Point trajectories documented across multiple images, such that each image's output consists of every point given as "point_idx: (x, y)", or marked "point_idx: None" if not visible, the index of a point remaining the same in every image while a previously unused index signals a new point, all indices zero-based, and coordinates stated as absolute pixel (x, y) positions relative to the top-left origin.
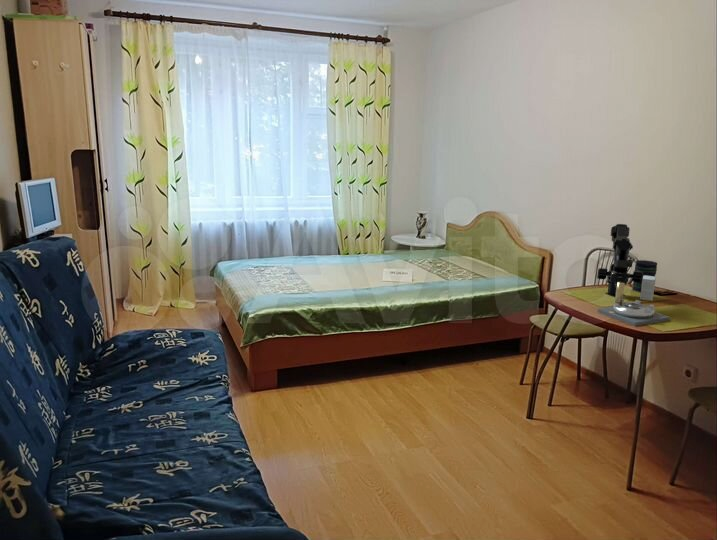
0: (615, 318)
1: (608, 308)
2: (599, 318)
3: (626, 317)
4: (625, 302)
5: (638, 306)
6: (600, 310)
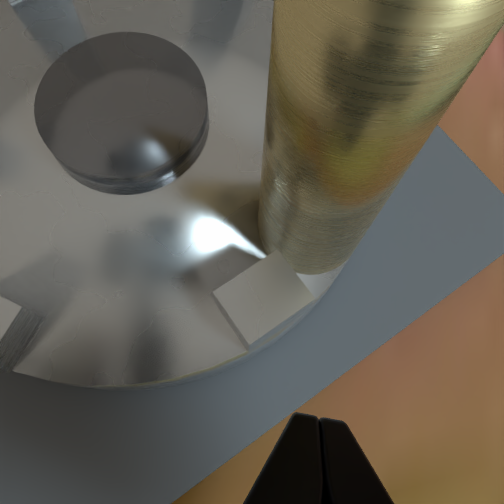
0: None
1: (408, 273)
2: (492, 47)
3: None
4: (174, 354)
5: (86, 40)
6: (500, 199)
